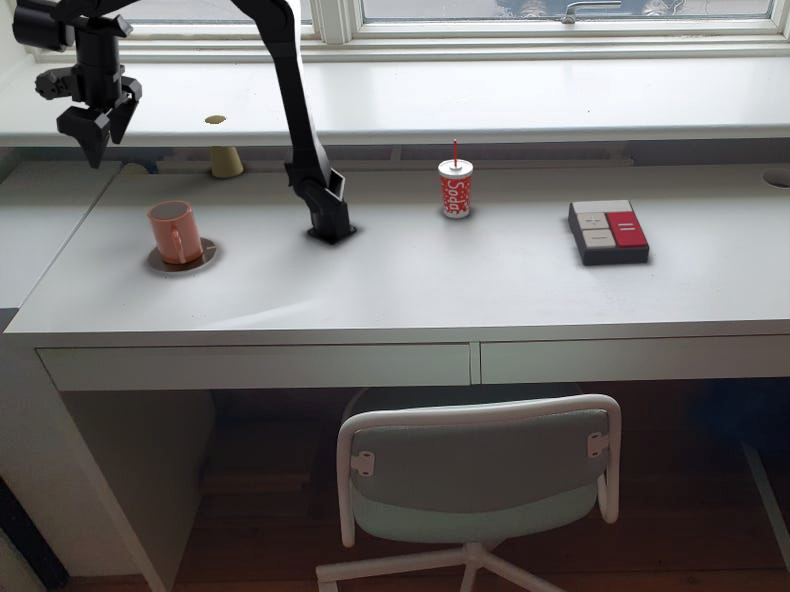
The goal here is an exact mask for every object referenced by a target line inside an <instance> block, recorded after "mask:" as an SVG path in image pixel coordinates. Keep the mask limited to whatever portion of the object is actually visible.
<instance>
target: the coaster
mask: <svg viewBox="0 0 790 592" xmlns="http://www.w3.org/2000/svg"><path fill="white" fill-rule="evenodd" d="M200 239H201V243H202V246H203V252H202V254H201V255H200V256H199V257H198V258H196V259H195V260H193V261H190V262H187V263H182V264H171V263H167V262H165V261H163V260H162V258H161V256H160V253H159V250H158V247H157V246H155V247H154V248H153V250H151V251H150V252H149V255H148V258H147V262H148V264H149V265H150V267H151V268H153V269H154V270H156V271H158V272H164V273H182V272H187V271H192V270H196V269H197V268H200V267H202V266H204V265H205V264H207V263H209V262H210V261H212V259H213V258H214V257H215V255H216V254H217V248H218V247H217V245H216V244H215V243H214V242H213V241H212V240H210V239H208V238H205V237H201V236H200Z"/></svg>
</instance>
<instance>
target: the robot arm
mask: <svg viewBox="0 0 790 592" xmlns="http://www.w3.org/2000/svg"><path fill="white" fill-rule="evenodd" d="M140 1H141V0H59V1H58V2H57V1H52V0H15V3H16V6H15V9H14V12H13V22H12V23H11V29H12V35H13V37H14V39H15V41H16V43H18V44H19V45H22V46H23V45H24V46H28V47H32V48H38V49H43V50H47V51H52V52H56V53H57V52H58V53H61V54H62V53H65V52H66V51H67V48H72V47H74V46H75V54H76V63H74V64H73V65H71V66H64V67H57V68H50V69H47V70H45V71H44V72H40V73H39V74H38V75H36V76H35V80H34V85H35V87H34V91H35V92H36V93H37V94H39V96H40V97H42V98H43V99H45V100H46V101H54V99H63V98H70V97H71V101H72V102H75V103H78V104H81V103H84V105H85V106H87V108H84V107H81V106H77V105H70V106H69V107H67V108H66V109H65V110H64V111H62V113H60V115H58V116H57V118H55V121H56V131H57V132H59V134H61V135H65V136H67V137H72V138H73V139H74V140H76V142H77V143H78V145H79V146H80V148H81V150H82V153H83V155H84V156H85V158H86V161H87V162H88V165H89V167H90V168H91V169H94V170H99V169H100V167H101V164H102V161H103V159H104V156H105V153H106V150H107V146H108V144H109V140H111V142H112V144H114V145H117V146H118V145H121V142H122V140H123V138H124V136H125V135H126V132H127V130H128V128H129V127H128V126H129V125H130V123H131V120H132V118H133V116H134V114H135V112H136V110H137V108H138V105H139V104H140V100H141V98H142V97H143V85H142V84H141V82H140V81H138V79H137V78H136V77H131V76H126V75H123V74H125V73H126V65H125V64H121V59H120V45H119V38H122V39H127V37H129V35H131V33H132V32H133V31H134V27H133V26H132V25H131V24H130V23H129V22H128V21H127V20H125V19H124V17H123V15H122V14H120V13H119V14H116V15H115V16H114V17H113V18H112V17H107V16H105V15H109V14H111V13H114V12H117V11H119V10H121V9H124V8H126V7H127V6H130V5H131V4H134V3H137V2H140ZM229 1H230V2H231V3H232V4H233V5H234V6H235V7H236V8H237V9H238V10H239V11H240V12H242V13H243V14H244V15H246V16H247V17H248V18H249V19H251V20H253V21H254V24H255V26H256V28H257V31H258V33H259V36H260V38H261V41H262V43H263V45H264V46H265V48H266V50H267V52H268V53H269V55H270V57H271V59H272V61H273V65H274V70H275V73H276V79H277V83H278V88H279V91H280V95H281V96H280V97H281V102H282V104H283V105H282V106H283V110H284V114H285V119H286V123H287V128H288V132H289V137H290V141H291V146H292V148H291V147H288V150H287V153H286V156H285V158H284V161H283V166H284V169H285V172H286V174H287V176H288V184H287V187H288V188H291V187H292V190H293V193H294V194H295V195H296V197H298V198H300V199H302V200H303V201H304V202H305V204H306V206H307V208H308V209H309V214H310V221H311V226H312V227H310V228H309V229H307V230H306V234H307V235H309V236H311V237H313V238H315V239H317V240H319V241H322V242H324V243H326V244H328V245H330V246H331V245H335V244H338V242H340V241H342V240H344V239H345V238H347V237H349V236H350V235H352V234H354V233H356V232H357V231H358V227H357V226H356V225H353V224H351V223H350V222H351V221H350V215H349V206H348V202H347V201H346V199H345V197H344V191H345V187H346V186H345V185H346V178H345V177H344V176H343V175H342V174H340V173H339V172H337V170H335V169H334V168H333V167H332V166H331V163H330V160H329V158H328V155H327V153H326V150H325V148H324V147H323V145H322V144H321V142H320V141H319V137H318V135H317V130H316V124H315V120H314V115H313V110H312V105H311V104H312V103H311V99H310V95H309V90H308V89H309V88H308V84H307V80H306V74H305V69H304V63H303V59H302V54H301V37H302V36H301V33H302V32H301V31H302V20H301V19H302V17H301V16H302V14H301V12H302V11H301V1H300V0H229Z"/></svg>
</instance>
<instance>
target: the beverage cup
mask: <svg viewBox="0 0 790 592" xmlns="http://www.w3.org/2000/svg"><path fill="white" fill-rule="evenodd" d="M457 145H458V144H457V139H453V159H447V160H444V161H442V162H441V163H440V164H439V165H438V168H437V169H438V173H439V175H440V185H441V194H442V204H443V205H442V206H443V214H444V215H445V216H446V217H447V218H451V219H463V218H465V217H467V216H469V213H470V199H471V186H472V174H473V172H474V171H473V170H474V166H473V164H472V163H471V162H469V161H467V160H464V159H458V146H457Z"/></svg>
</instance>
